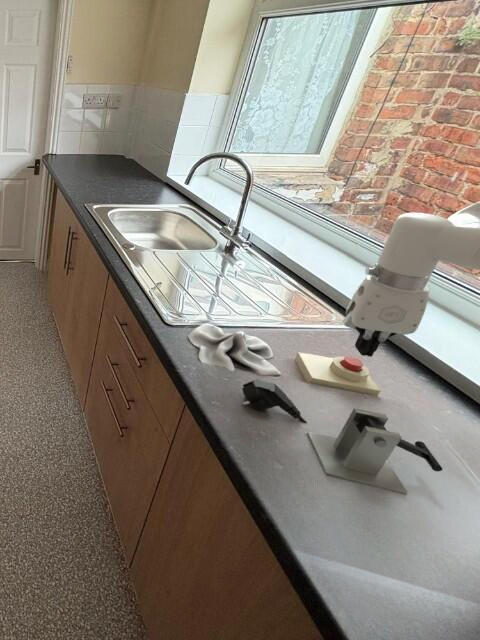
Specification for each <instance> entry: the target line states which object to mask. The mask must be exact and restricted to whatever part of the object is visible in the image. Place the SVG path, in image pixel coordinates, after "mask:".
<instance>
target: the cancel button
mask: <svg viewBox="0 0 480 640" xmlns="http://www.w3.org/2000/svg"><path fill="white" fill-rule="evenodd" d="M343 357H344V359H343V361H342V363H341V365H342V366H343V367H344V368H346V369H348V370H350V371H354V372H359V371H360V370H361V368H362V366H363V365H364V362H363V361H362V360H360V359H359V358H357V357H354V356H351V355H346V356H343Z"/></svg>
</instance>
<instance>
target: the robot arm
mask: <svg viewBox="0 0 480 640" xmlns="http://www.w3.org/2000/svg"><path fill="white" fill-rule="evenodd" d="M439 261H442V262H445V263H448V264H453V265H456V266H459V267H463V268H466V269H471V270H476V271H480V200H479V201H477V202H475V203H473V204H471V205H468V206H466V207H464V208H462V209H460V210H458V211H456V212H455V213H453V214H452V215H450V216H449V217H448V218H445V217H443V216H439V215H436V214H430V213H426V212H425V213H424V212H405V213H403V214H401V215H399V216H398V217H397V218H396V219H395V221H394V223H393V226H392V228H391V230H390V233H389V235H388V237H387V239H386V241H385V243H384V246H383V248H382V250H381V253H380V255H379V257H378V260H377V262H376V263H375V264H374V265H373V267H366V268H365V270H364V272H365V275H367V276H366V277H365V278H364V279H363V280H362V282H361V283H360V285H358V287H357V288H356V290H355V292H354V293H353V295H352V297H351V299H350V300H349V302H348V305H347V307H346V309H345V317H344V318H343V319H342V321H341V322H342V324H343V325H344V327H347V328H349V329H351V330H352V329H353V330H356V331H357V332H358V333H359V335H358V337H357V338H356V340H355V343H354V347H355V349H356V350H357V351H358V353H359V354H360V355H361V356H362V357H365V356H367V357H369V358H370V357H371V358H372V357H373V355H374V353H375V352H377V350H378V349H379V347H380V346H379V345H380V344H381V343H383V342H385V341H387V339H388V338H391V337H393V336H406V335H407V336H408V335H411V334H414V333H416V331H417V330H418V328H419V326H420V324H421V323H422V320H423V318H424V315H425V311H426V309H427V306H428V302H429V295H430V288H429V287H428V286H427V285H428V282H429V280H430V278H431V276H432V274H433V272H434V270H435V269H436V266H437V265H438V263H439Z"/></svg>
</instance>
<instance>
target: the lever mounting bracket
mask: <svg viewBox="0 0 480 640" xmlns="http://www.w3.org/2000/svg"><path fill="white" fill-rule="evenodd" d="M366 417H367V418H370V419H372V420H374V421H376V422H378V423H380V424H383V425H384V426H385V425H386V424H387V421H388V420H389V417H388V416H387V415H386V414H384V413H380V412H375V411H371V410H367V409H360V408H356V407H355V408H353V409H352V411H351V413H350V414H349V416H348V417H347V420H346V422H345V423H344V425H343V426H342V428H341V430H340V431H339V434H338V436H337V437H334V436H329V435H324V434H321V433H316V432H311V431H307V433H306V435H307V437H308V439H309V441H310V444H311V445H312V448H313V450H314V452H315V454H316V457H317V459H318V461H319V463H320V465H321V467H322V470H323V472H324V475H326V476H330V477H334V478H337V479H341V480H346V481H350V482H352V483H353V482H354V483H357V484H362V485H366V486H370V487H374V488H378V489H382V490H387V491H391V492H395V493H399V494H402V495H407V494H408V491H407V489H406V487H405V486H404V484H403V483H402V481H401V479H400V478H399V476H398V475H397V473H396V471H395V470H394V468H393V466H392V465H391V463H390V461H389V460H388V459H389V457H391V455H392V453H393V452H394V450H395V449H396V447H397V446H396V445H397V444H398V442H399V441H400V439H402V436H401V435H400V434H399V433H398V432H395V431H390V430H387V429H386V430H387V431H386V430H381V429H376V428H372V427H367V426H365V427H364V429H363V431H362V432H361V434H360V432H359V430H358V428H357V427H356V424H358V423H359V422H360V421H362V420H363V419H365V418H366Z"/></svg>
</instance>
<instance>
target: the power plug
mask: <svg viewBox="0 0 480 640" xmlns="http://www.w3.org/2000/svg"><path fill="white" fill-rule="evenodd" d="M241 389H242V393H243V397H245V399H246V401H243V402H242V405H244V406H251V407H252V408H253V409H255V410H257V411H258V412H263V411H266V410H269V409H272V408H275V407H279V408H280V409H281V410H283V411H284V412H285V413H287V414H288V415H290V416H291V417H292V418H294V419H298V421H300V422H301V423H303V424H308V422H307V420H305V419H304V418H303V416H302V415H301V412H300V410H299V409H298V408H297V406H296V405H295V404H294V403H293V401H292V400H291V398H289V397H288V395H287V394H286V393H285V392H284V391H283V390H282V389H281V388H280V387H279V386H278V385H277V384H276V383H275V382H268V381H264V380H260V379H258V378H256V379H253V380H251V381H248V382H246V383H244V384H242V388H241Z"/></svg>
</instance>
